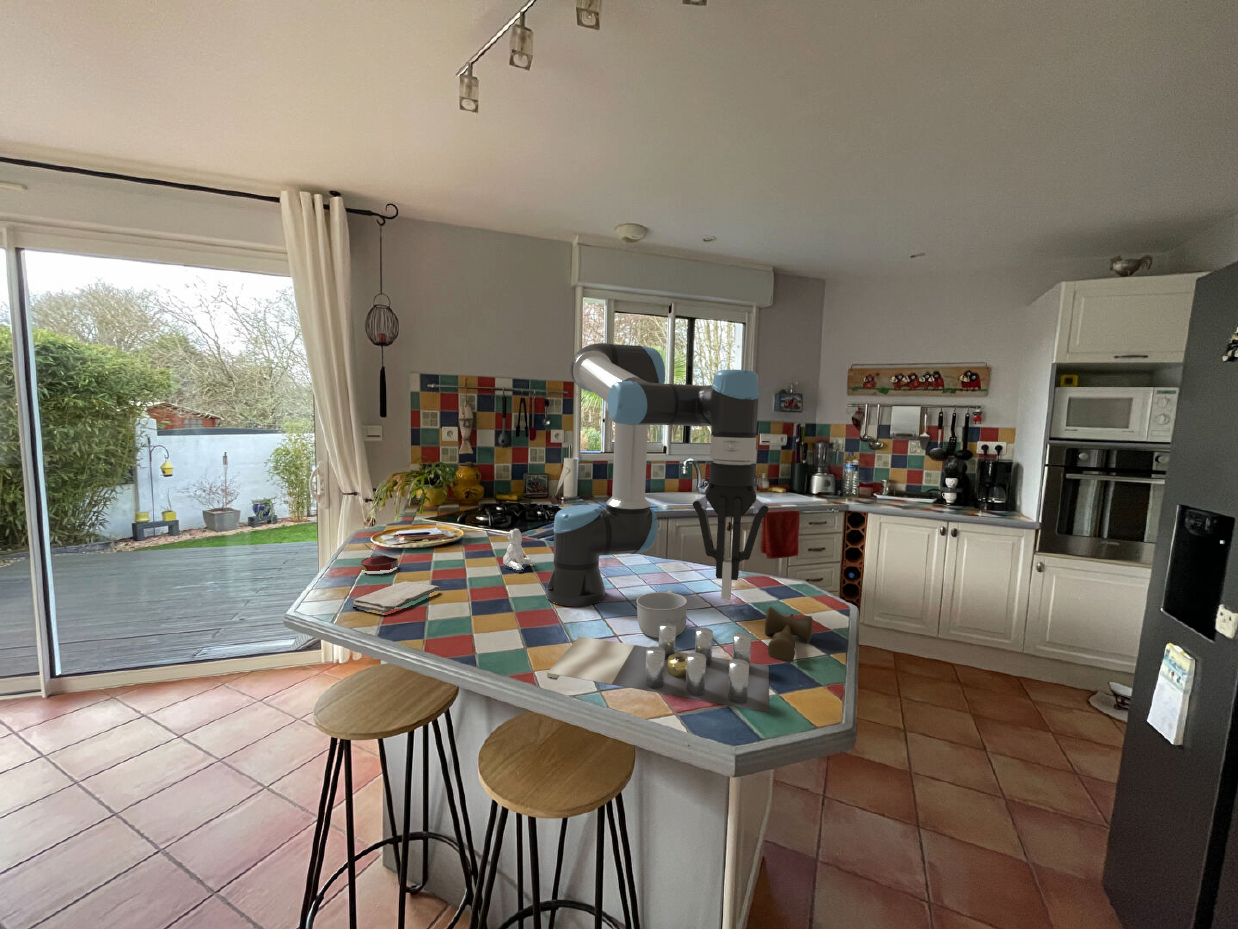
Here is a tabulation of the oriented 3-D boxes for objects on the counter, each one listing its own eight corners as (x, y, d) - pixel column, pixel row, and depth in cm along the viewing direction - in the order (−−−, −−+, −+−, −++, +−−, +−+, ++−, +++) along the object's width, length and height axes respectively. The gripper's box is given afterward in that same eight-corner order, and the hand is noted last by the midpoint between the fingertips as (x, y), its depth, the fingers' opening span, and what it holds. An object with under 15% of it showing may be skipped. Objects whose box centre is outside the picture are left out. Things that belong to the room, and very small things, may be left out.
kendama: (754, 661, 100) (769, 622, 119) (805, 673, 97) (813, 631, 115) (756, 632, 100) (771, 597, 118) (808, 643, 96) (815, 606, 114)
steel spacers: (643, 687, 87) (644, 653, 86) (660, 651, 100) (661, 621, 100) (747, 705, 82) (748, 669, 82) (749, 665, 96) (751, 634, 95)
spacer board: (547, 677, 91) (547, 672, 91) (578, 640, 106) (579, 636, 106) (768, 717, 80) (768, 712, 80) (768, 669, 96) (768, 665, 96)
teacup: (672, 650, 103) (673, 612, 102) (626, 637, 108) (627, 600, 108) (699, 627, 114) (701, 593, 114) (656, 616, 120) (657, 583, 119)
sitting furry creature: (519, 574, 149) (520, 533, 148) (494, 570, 153) (495, 530, 151) (536, 565, 158) (536, 527, 157) (512, 562, 161) (512, 524, 160)
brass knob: (666, 676, 91) (666, 663, 90) (669, 664, 95) (669, 652, 95) (691, 679, 90) (691, 666, 89) (692, 667, 94) (693, 654, 94)
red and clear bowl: (368, 582, 153) (369, 549, 156) (402, 578, 154) (403, 546, 157) (351, 575, 142) (354, 540, 146) (389, 571, 143) (390, 537, 147)
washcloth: (348, 611, 120) (348, 598, 119) (406, 588, 136) (405, 576, 136) (387, 619, 115) (387, 606, 115) (441, 594, 132) (441, 583, 132)
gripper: (690, 462, 85) (685, 599, 87) (772, 465, 81) (764, 609, 83) (696, 459, 92) (691, 586, 94) (772, 462, 88) (765, 594, 91)
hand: (726, 597), depth 89 cm, fingers closed
